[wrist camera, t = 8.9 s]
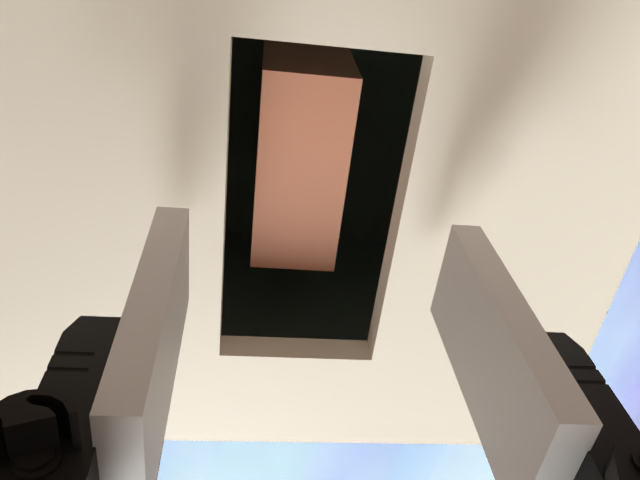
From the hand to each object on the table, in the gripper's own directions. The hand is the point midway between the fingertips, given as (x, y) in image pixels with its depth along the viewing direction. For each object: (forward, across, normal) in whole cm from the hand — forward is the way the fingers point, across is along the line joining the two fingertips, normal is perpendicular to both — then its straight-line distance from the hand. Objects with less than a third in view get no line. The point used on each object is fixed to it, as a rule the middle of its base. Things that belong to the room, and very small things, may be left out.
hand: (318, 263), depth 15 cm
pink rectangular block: (+15, 0, 0) cm, 15 cm away
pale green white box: (+16, 0, 0) cm, 16 cm away
